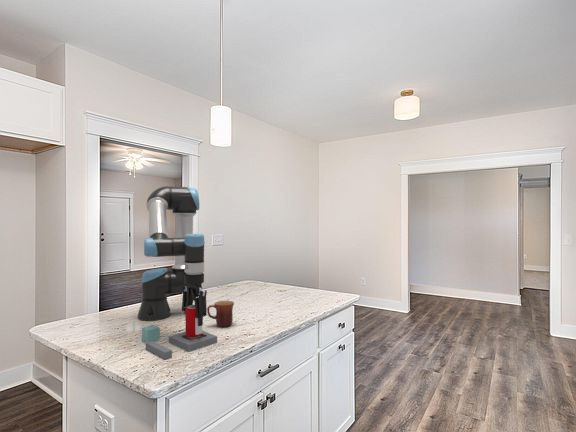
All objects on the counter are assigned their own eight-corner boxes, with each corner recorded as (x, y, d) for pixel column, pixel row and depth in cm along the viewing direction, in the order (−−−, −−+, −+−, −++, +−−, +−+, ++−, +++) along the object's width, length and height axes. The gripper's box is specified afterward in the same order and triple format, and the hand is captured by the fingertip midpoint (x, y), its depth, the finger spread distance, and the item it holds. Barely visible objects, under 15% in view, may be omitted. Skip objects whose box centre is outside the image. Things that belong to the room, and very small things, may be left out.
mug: (232, 321, 159) (233, 300, 160) (235, 327, 151) (235, 304, 151) (206, 323, 156) (206, 301, 156) (207, 329, 148) (207, 306, 148)
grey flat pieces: (145, 349, 125) (145, 342, 125) (196, 334, 142) (196, 328, 142) (164, 359, 116) (164, 352, 116) (217, 342, 133) (217, 336, 133)
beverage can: (203, 334, 136) (203, 304, 136) (199, 339, 130) (200, 308, 130) (187, 334, 136) (187, 304, 136) (183, 339, 129) (183, 308, 130)
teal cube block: (141, 340, 135) (141, 327, 135) (153, 337, 139) (153, 324, 139) (147, 343, 132) (147, 330, 132) (159, 340, 135) (159, 327, 135)
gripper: (172, 271, 136) (172, 328, 136) (200, 276, 124) (199, 340, 124) (189, 269, 142) (188, 324, 142) (216, 274, 130) (216, 335, 129)
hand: (193, 331), depth 133 cm, fingers closed on beverage can, 6 cm apart
